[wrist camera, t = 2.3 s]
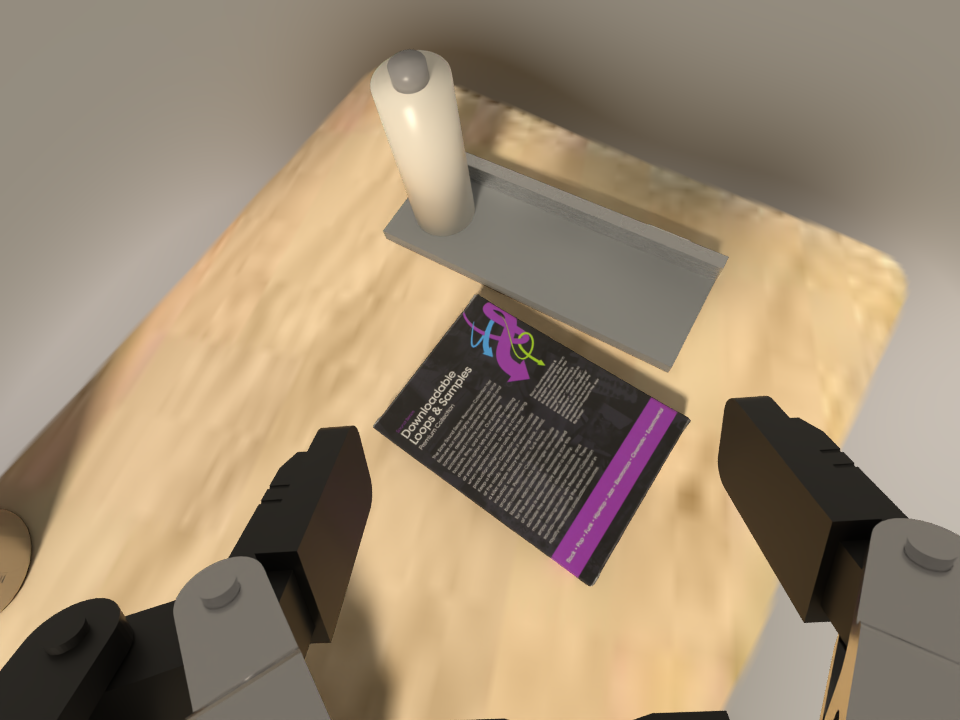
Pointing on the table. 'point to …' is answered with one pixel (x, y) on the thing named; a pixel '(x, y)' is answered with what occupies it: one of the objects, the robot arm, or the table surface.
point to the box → (534, 435)
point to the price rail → (598, 218)
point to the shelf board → (567, 274)
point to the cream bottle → (426, 138)
